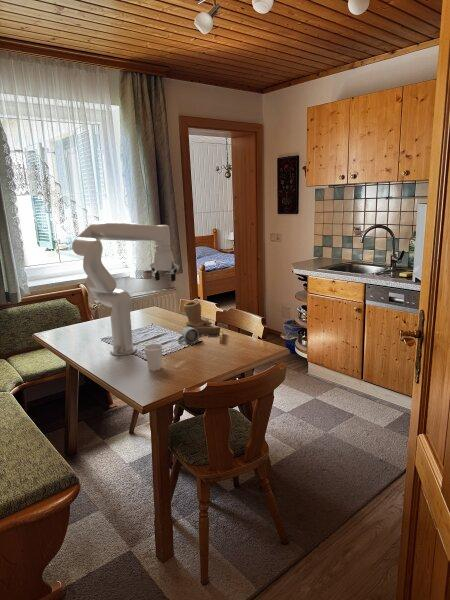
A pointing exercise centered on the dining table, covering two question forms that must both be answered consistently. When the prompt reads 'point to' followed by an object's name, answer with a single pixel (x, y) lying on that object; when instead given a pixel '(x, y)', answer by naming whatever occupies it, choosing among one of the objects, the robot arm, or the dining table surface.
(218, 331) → the trap box
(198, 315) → the tan boot
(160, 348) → the dixie cup
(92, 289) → the robot arm
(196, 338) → the ceramic mug
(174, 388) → the dining table surface
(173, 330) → the dining table surface
